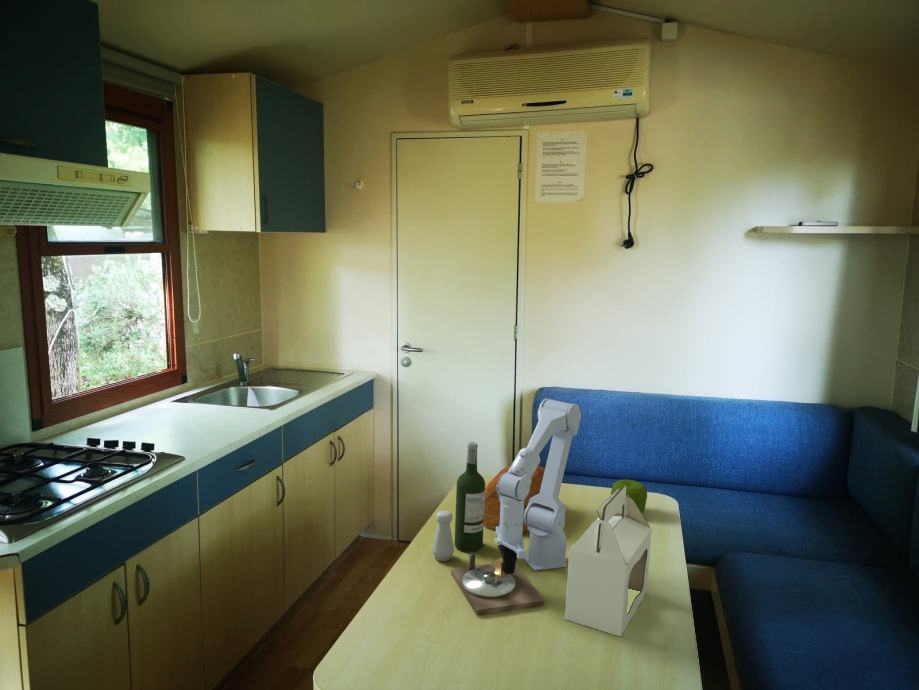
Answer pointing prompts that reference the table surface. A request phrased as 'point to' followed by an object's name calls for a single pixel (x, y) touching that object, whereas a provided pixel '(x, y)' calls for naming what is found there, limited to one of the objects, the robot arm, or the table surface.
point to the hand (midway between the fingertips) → (508, 572)
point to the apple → (633, 492)
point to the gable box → (609, 566)
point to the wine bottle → (470, 505)
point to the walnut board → (516, 600)
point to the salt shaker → (443, 537)
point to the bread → (494, 504)
